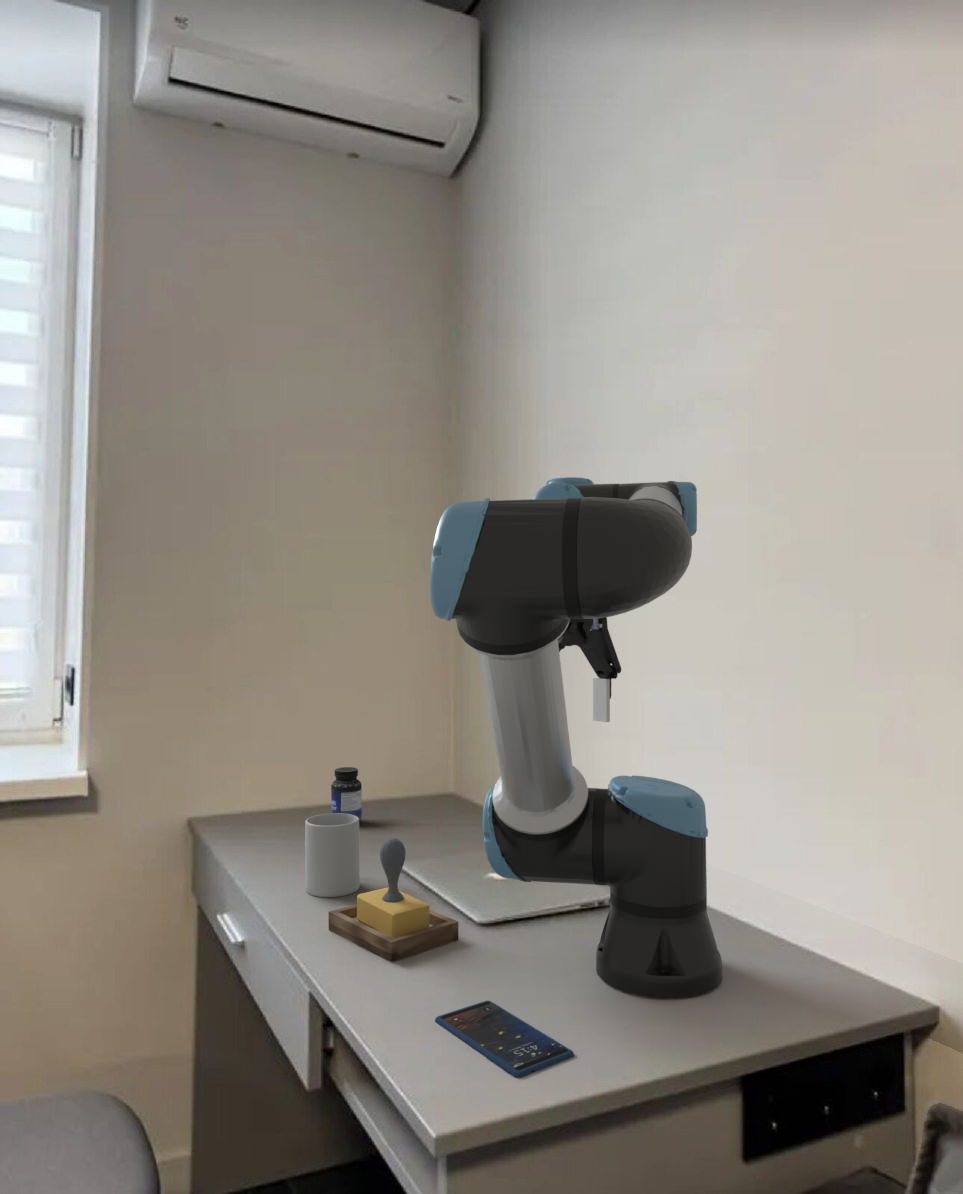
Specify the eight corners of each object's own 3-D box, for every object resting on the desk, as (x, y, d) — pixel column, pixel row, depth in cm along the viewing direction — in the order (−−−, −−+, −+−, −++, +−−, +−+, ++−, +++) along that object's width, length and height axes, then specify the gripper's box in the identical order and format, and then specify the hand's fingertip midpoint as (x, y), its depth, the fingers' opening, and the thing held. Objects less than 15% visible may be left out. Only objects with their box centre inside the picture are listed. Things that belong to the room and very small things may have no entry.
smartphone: (488, 998, 105) (576, 1051, 93) (488, 1005, 105) (576, 1059, 93) (432, 1016, 101) (516, 1074, 88) (432, 1023, 101) (516, 1083, 88)
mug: (364, 893, 143) (364, 823, 143) (309, 900, 140) (309, 828, 140) (349, 871, 154) (349, 806, 154) (298, 877, 151) (298, 810, 151)
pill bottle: (329, 821, 188) (328, 767, 188) (359, 818, 190) (358, 765, 190) (333, 828, 182) (333, 772, 182) (364, 825, 184) (363, 770, 184)
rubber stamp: (430, 931, 124) (430, 842, 123) (394, 941, 120) (393, 850, 120) (391, 911, 131) (390, 827, 131) (355, 920, 128) (355, 834, 128)
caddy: (458, 940, 124) (458, 921, 124) (391, 962, 116) (391, 942, 116) (393, 911, 135) (393, 894, 135) (328, 929, 128) (328, 911, 128)
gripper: (606, 583, 148) (607, 715, 148) (490, 583, 132) (491, 731, 132) (643, 582, 142) (644, 720, 142) (526, 582, 126) (527, 737, 126)
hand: (570, 725), depth 137 cm, fingers open, 13 cm apart
